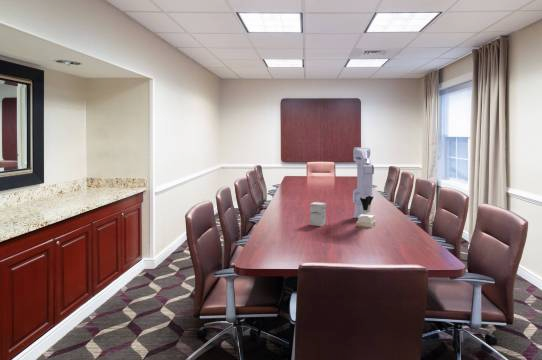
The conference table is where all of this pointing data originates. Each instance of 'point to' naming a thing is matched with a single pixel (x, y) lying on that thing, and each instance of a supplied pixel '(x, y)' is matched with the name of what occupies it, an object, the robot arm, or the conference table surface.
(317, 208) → the supplement box
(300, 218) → the conference table surface
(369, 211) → the sage capsule
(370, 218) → the top slab
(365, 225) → the base slab
